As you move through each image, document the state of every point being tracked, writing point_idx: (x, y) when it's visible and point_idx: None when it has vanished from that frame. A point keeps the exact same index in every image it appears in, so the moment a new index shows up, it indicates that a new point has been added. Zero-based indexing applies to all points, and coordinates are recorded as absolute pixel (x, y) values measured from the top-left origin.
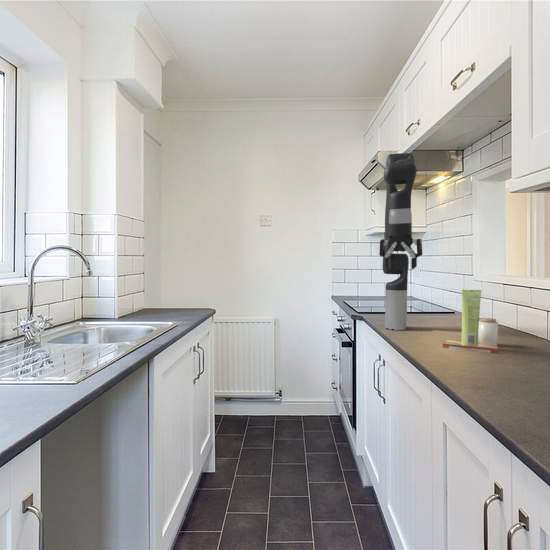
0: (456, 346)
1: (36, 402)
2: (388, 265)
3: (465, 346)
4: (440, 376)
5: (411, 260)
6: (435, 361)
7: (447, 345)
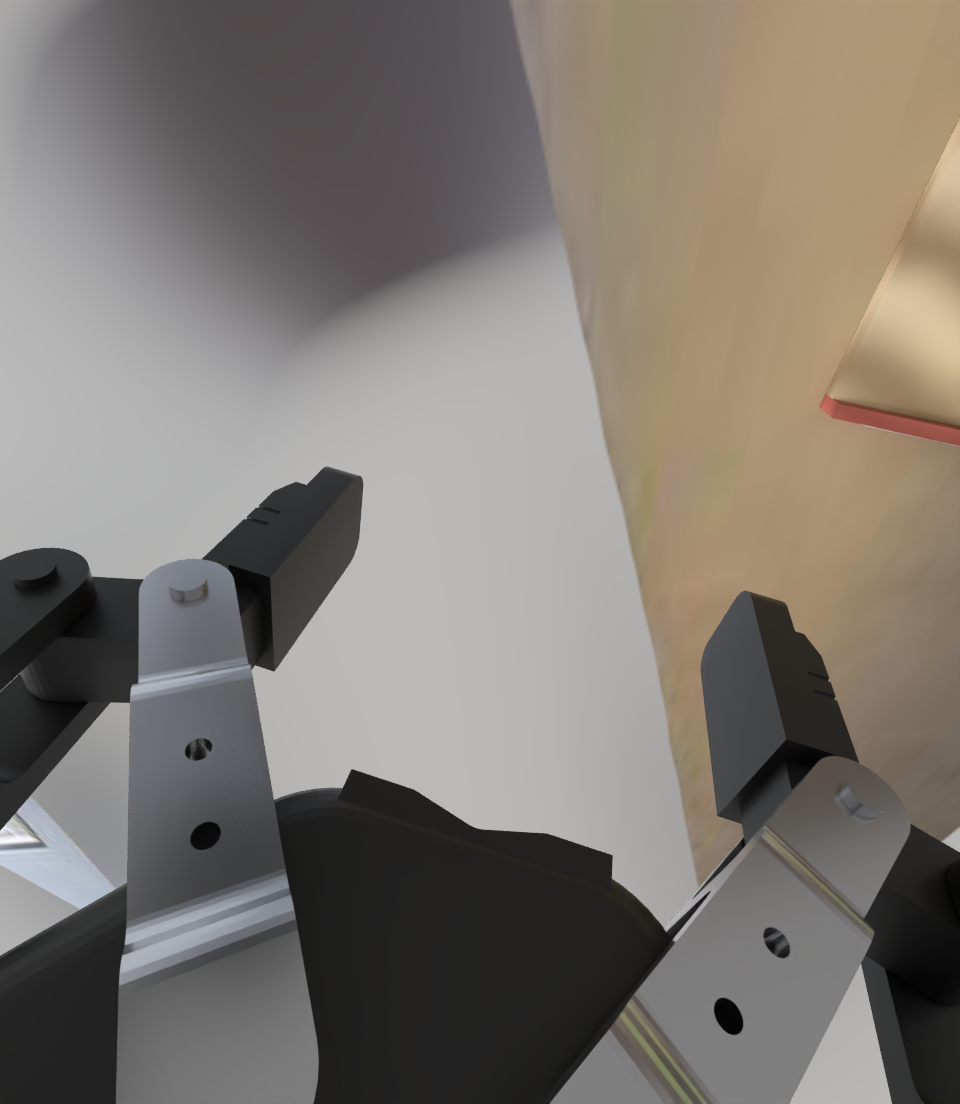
0: (905, 431)
1: (84, 895)
2: (333, 580)
3: (956, 445)
4: (685, 756)
5: (714, 777)
6: (716, 608)
7: (856, 422)
